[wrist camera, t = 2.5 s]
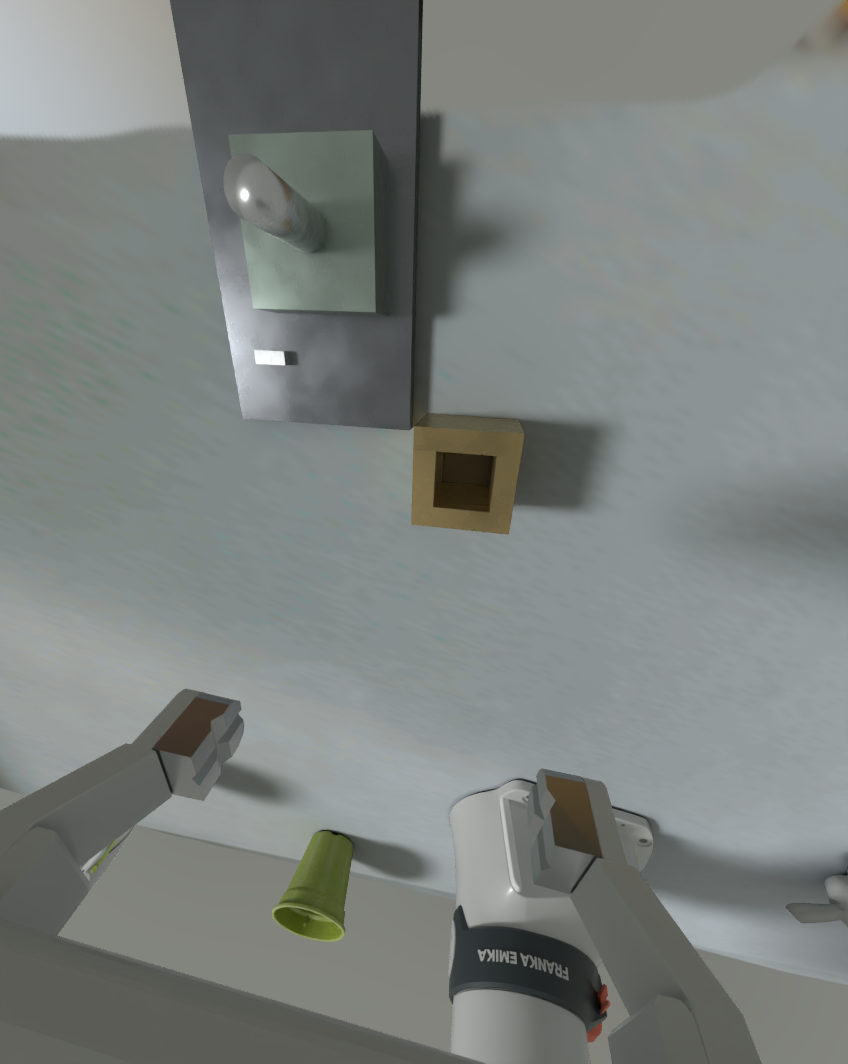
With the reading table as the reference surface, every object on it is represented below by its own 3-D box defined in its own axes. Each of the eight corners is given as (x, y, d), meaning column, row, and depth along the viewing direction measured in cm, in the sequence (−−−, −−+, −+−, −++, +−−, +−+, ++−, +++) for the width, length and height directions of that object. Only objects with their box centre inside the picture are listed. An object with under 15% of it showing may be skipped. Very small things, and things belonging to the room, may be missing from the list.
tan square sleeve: (517, 419, 24) (524, 433, 19) (505, 504, 27) (508, 534, 22) (427, 413, 25) (414, 426, 20) (423, 496, 27) (411, 524, 23)
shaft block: (423, -29, 16) (368, -359, 9) (412, 427, 25) (380, 458, 18) (181, -8, 18) (-45, -275, 10) (251, 416, 27) (157, 440, 19)
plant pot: (378, 853, 52) (359, 940, 44) (331, 862, 56) (306, 944, 48) (336, 817, 50) (308, 902, 42) (290, 829, 53) (256, 910, 45)
